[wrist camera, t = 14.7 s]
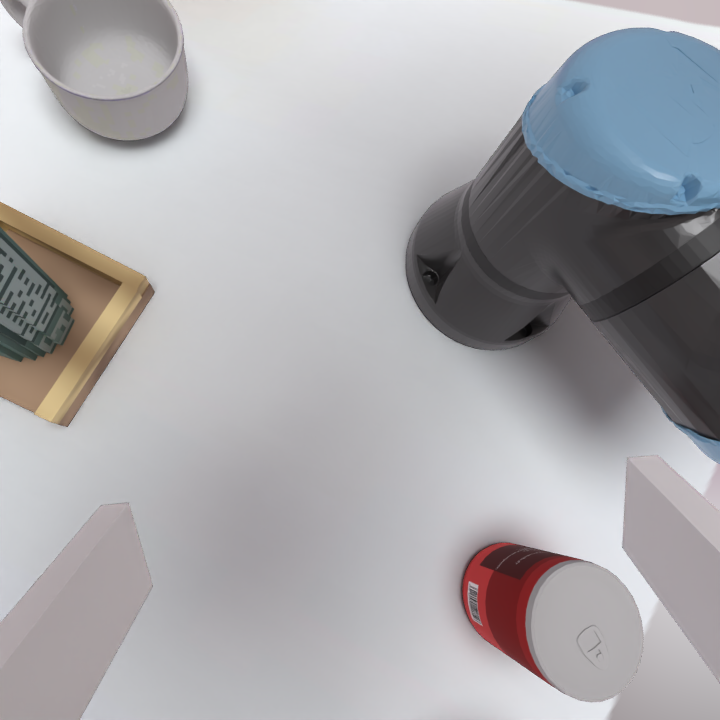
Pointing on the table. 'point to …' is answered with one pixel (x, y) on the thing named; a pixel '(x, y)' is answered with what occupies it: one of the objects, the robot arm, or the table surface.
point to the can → (29, 306)
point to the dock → (91, 314)
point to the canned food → (556, 618)
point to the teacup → (109, 61)
